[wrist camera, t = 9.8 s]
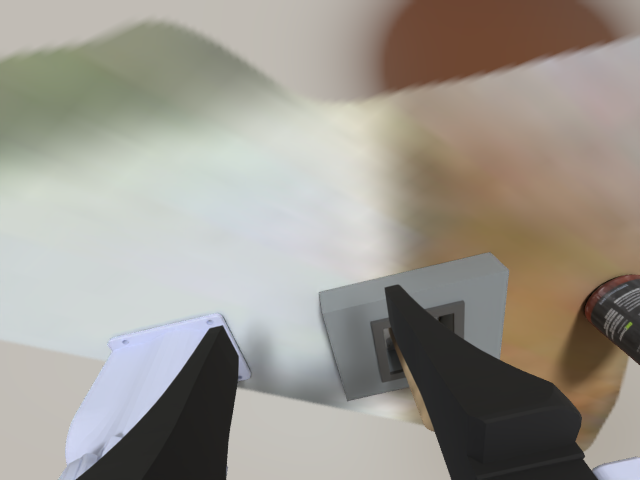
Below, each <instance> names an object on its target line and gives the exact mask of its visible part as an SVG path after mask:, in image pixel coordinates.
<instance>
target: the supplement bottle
mask: <svg viewBox="0 0 640 480" xmlns="http://www.w3.org/2000/svg"><path fill="white" fill-rule="evenodd" d="M585 316H586V318H587V320H588V321H589V322H590V323H591V324H592V325H594V326H595V327H596V328H597V329H598V330H599V331H600V332H601V333H603V334H604V335H605V336H606V337H607V338H608V339H610V340H611V341H612V342H613V343H614V344H615V345H617V346H618V347H619V348H620V349H621V350H623V351H624V352H625V353H626V354H627V355H628V356H630V357H631V358H632V359H633V360H634V361H635V362H637V363H638V364H639V365H640V275H624V276H620V277H617V278H615V279H612V280H610V281H608V282H606V283H605V284H603V285H601V286H600V287H599V288H598V289H597V290H596V291H595V292H594V293H593V294H592V295H591V296H590V298H589V299H588V302H587V304H586V306H585Z"/></svg>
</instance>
